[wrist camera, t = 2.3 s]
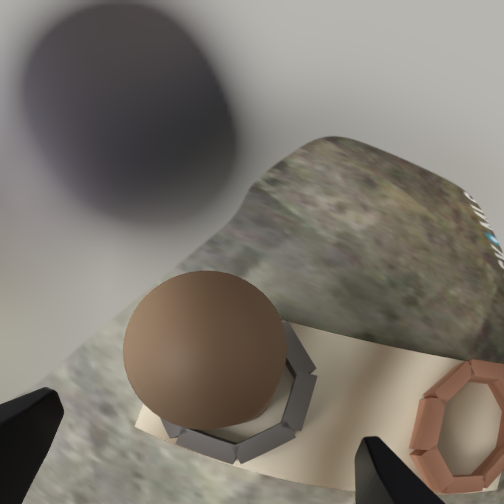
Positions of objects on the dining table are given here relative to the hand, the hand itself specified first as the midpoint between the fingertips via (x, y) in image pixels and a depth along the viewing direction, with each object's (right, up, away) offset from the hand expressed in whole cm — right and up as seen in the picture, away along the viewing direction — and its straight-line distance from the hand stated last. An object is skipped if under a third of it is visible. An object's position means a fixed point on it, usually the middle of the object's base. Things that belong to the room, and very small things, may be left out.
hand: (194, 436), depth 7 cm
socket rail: (+7, -4, +8) cm, 12 cm away
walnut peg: (+1, -2, +8) cm, 9 cm away
